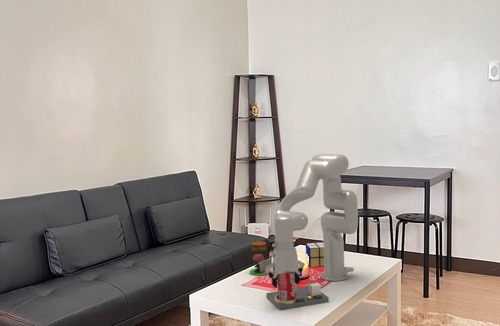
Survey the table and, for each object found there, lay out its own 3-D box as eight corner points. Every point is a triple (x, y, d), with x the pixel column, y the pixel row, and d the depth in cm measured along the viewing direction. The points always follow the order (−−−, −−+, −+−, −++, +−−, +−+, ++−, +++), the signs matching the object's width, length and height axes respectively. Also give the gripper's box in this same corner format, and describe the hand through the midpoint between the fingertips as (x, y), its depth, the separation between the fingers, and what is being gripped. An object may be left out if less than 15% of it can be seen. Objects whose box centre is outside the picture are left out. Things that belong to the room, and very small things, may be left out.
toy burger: (244, 276, 269) (243, 246, 268) (252, 268, 281) (251, 239, 279) (267, 277, 266) (266, 247, 264) (274, 269, 277) (273, 240, 276)
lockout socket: (292, 294, 235) (292, 291, 235) (301, 301, 226) (301, 298, 226) (271, 297, 232) (271, 294, 232) (279, 305, 223) (279, 302, 223)
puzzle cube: (306, 262, 289) (305, 243, 287) (324, 260, 290) (324, 242, 288) (310, 267, 279) (309, 248, 278) (329, 266, 280) (328, 247, 279)
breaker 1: (293, 289, 240) (292, 279, 240) (297, 293, 236) (297, 282, 235) (284, 290, 239) (284, 280, 239) (288, 294, 234) (288, 283, 234)
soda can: (294, 303, 225) (293, 272, 223) (276, 302, 226) (275, 272, 225) (296, 297, 232) (295, 267, 230) (279, 296, 233) (278, 266, 232)
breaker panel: (312, 290, 245) (312, 283, 245) (328, 302, 230) (328, 295, 230) (266, 297, 238) (266, 290, 238) (279, 310, 223) (279, 303, 223)
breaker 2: (315, 291, 237) (315, 280, 236) (321, 295, 232) (320, 284, 232) (307, 292, 236) (307, 282, 235) (312, 296, 231) (312, 285, 230)
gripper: (267, 249, 221) (269, 291, 222) (307, 244, 226) (308, 284, 228) (261, 245, 228) (263, 285, 230) (300, 240, 233) (301, 279, 235)
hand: (285, 285), depth 229 cm, fingers open, 9 cm apart
